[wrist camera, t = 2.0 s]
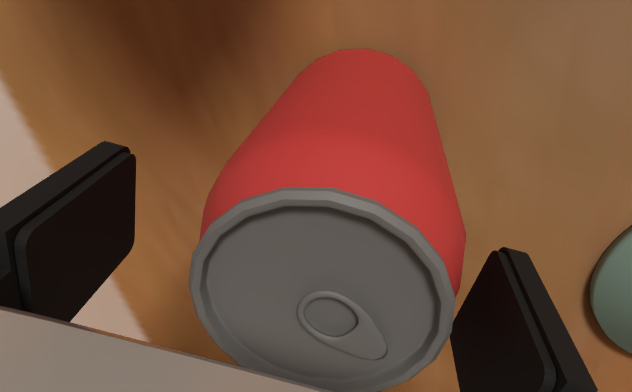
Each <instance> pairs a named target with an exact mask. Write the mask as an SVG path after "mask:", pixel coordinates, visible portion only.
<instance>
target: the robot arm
mask: <svg viewBox="0 0 632 392" xmlns="http://www.w3.org/2000/svg"><path fill="white" fill-rule="evenodd" d="M135 186H136V157H135V155H134V154H130V150H129V148H128V147H125V146H122V145H118V144H114V143H110V142H106V141H104V142H101V143H100V144H98V145H97V146H95V147H93V148H92V149H90V150H89V151H87V152H86V153H84V154H83V155H81V156H80V157H78V158H77V159H75V160H73V161H72V162H70V163H69V164H67V165H66V166H64V167H63V168H61V169H60V170H58V171H56V172H55V173H53V174H52V175H50V176H49V177H47V178H46V179H44V180H43V181H41V182H40V183H38V184H36V185H35V186H33V187H32V188H30V189H29V190H27V191H26V192H24V193H23V194H21V195H20V196H18V197H16V198H15V199H13V200H12V201H10V202H9V203H7V204H6V205H4V206H2V207H1V208H0V392H333V391H329V390H326V389H322V388H318V387H315V386H311V385H307V384H303V383H300V382H296V381H292V380H288V379H285V378H281V377H277V376H273V375H270V374H266V373H262V372H258V371H254V370H251V369H247V368H243V367H239V366H236V365H232V364H228V363H224V362H220V361H217V360H213V359H209V358H205V357H202V356H198V355H194V354H190V353H186V352H182V351H179V350H175V349H171V348H167V347H163V346H159V345H155V344H152V343H148V342H144V341H140V340H136V339H132V338H129V337H124V336H121V335H117V334H113V333H109V332H105V331H102V330H98V329H94V328H90V327H86V326H82V325H78V324H74V323H70V321H71V320H72V319H73V317H74V316H75V315H76V314H77V313H78V312H79V310H80V309H81V308H82V307H83V306H84V305H85V304H86V302H87V301H88V300H89V299H90V298H91V297H92V295H93V294H94V293H95V292H96V291H97V290H98V288H99V287H100V286H101V285H102V284H103V283H104V282H105V280H106V279H107V278H108V277H109V276H110V275H111V273H112V272H113V271H114V270H115V269H116V268H117V266H118V265H119V264H120V263H121V262H122V261H123V259H124V258H125V257H126V256H127V255H128V254H129V252H130V251H131V249H132V247H133V244H134V236H135ZM450 341H451V346H452V351H453V356H454V362H455V367H456V372H457V377H458V382H459V388H460V392H597V391H598V389H597V387H596V386H595V384H594V382H593V380H592V378H591V376H590V374H589V372H588V370H587V368H586V366H585V364H584V362H583V360H582V358H581V356H580V354H579V352H578V351H577V349H576V347H575V345H574V343H573V341H572V339H571V337H570V335H569V333H568V331H567V329H566V327H565V325H564V323H563V321H562V319H561V317H560V315H559V314H558V312H557V310H556V308H555V306H554V304H553V302H552V300H551V298H550V296H549V294H548V292H547V290H546V288H545V286H544V284H543V282H542V280H541V279H540V277H539V275H538V273H537V271H536V269H535V267H534V265H533V263H532V261H531V259H530V257H529V255H528V254H527V253H524V252H521V251H517V250H513V249H509V248H506V247H503V248H501V249H500V250H499V251H492V252H491V254H490V255H489V257H488V259H487V261H486V262H485V264H484V266H483V268H482V270H481V272H480V273H479V275H478V277H477V279H476V281H475V283H474V284H473V286H472V288H471V290H470V292H469V294H468V295H467V297H466V299H465V301H464V303H463V305H462V307H461V308H460V310H459V312H458V314H457V316H456V318H455V319H454V321H453V325H452V332H451V334H450Z"/></svg>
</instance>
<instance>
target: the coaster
mask: <svg viewBox="0 0 632 392" xmlns="http://www.w3.org/2000/svg"><path fill="white" fill-rule="evenodd" d="M589 297H590V305H591V308H592V311H593V314H594V316H595V317H596V319H597V321H598V323H599V324H600V326H601V328H602V330H603V331H604V332H605V334H606V335H607V336H608V337H609V338H610V339H611V340H612V341H613V342H614V343H615V344H617V345H618V346H619V347H621V348H622V349H624V350H626V351H627V352H629V353H631V354H632V226H631V227H629V228H628V229H627V230H625V231H624V232H623V233H622V234H621V235H620V236H619V237H618V238H617V239H616V240H614V241H613V242H612V244H611V245H610V246H609V247H608V248H607V250H606V251H605V252H604V253H603V255H602V257H601V258H600V260H599V261H598V263H597V265H596V267H595V270H594V272H593V274H592V278H591V282H590V290H589Z"/></svg>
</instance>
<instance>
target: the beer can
mask: <svg viewBox="0 0 632 392" xmlns="http://www.w3.org/2000/svg"><path fill="white" fill-rule="evenodd" d="M465 241H466V232H465V228H464V224H463V220H462V217H461V213H460V209H459V206H458V202H457V198H456V195H455V191H454V187H453V183H452V180H451V176H450V172H449V169H448V165H447V161H446V157H445V154H444V150H443V146H442V143H441V139H440V135H439V132H438V128H437V124H436V120H435V117H434V113H433V109H432V106H431V102H430V99H429V95H428V92H427V90H426V88H425V87H424V86H423V84H422V83H421V81H420V80H419V79H418V77H417V76H416V74H415V73H414V71H413V70H411V69H410V68H409V67H407V66H406V65H404V64H403V63H401V62H400V61H399V60H397V59H396V58H394V57H393V56H391V55H388V54H384V53H381V52H377V51H374V50H371V49H343V50H339V51H336V52H334V53H331V54H329V55H326V56H323V57H321V58H318V59H317V60H316V61H314V62H313V63H312V64H311V65H310V66H308V67H307V68H306V69H305V70H304V71H302V72H301V73H300V74H299V75H298V76H297V77H296V79H295V80H294V81H293V82H292V84H291V85H290V86H289V87H288V88H287V90H286V91H285V92H284V93H283V95H282V96H281V97H280V98H279V99H278V101H277V102H276V103H275V104H274V105H273V107H272V108H271V109H270V110H269V112H268V113H267V114H266V115H265V116H264V118H263V119H262V120H261V121H260V123H259V124H258V125H257V126H256V127H255V129H254V130H253V131H252V132H251V134H250V135H249V136H248V137H247V138H246V140H245V141H244V142H243V143H242V145H241V146H240V147H239V148H238V149H237V151H236V152H235V153H234V154H233V156H232V157H231V158H230V159H229V160H228V162H227V163H226V165H225V166H224V168H223V170H222V172H221V173H220V175H219V177H218V178H217V180H216V182H215V184H214V185H213V187H212V189H211V191H210V192H209V195H208V198H207V201H206V204H205V208H204V211H203V219H202V226H201V233H200V241H199V244H198V246H197V247H196V249H195V250H194V252H193V254H192V262H191V270H190V277H189V288H190V292H191V296H192V300H193V303H194V307H195V311H196V315H197V317H198V318H199V320H200V321H201V323H202V324H203V326H204V327H205V329H206V330H207V332H208V333H209V335H210V336H211V338H212V340H213V341H214V343H215V344H216V345H217V346H218V347H219V348H220V349H222V350H223V351H224V352H225V353H226V354H227V355H228V356H229V357H231V358H232V359H233V360H234V361H235V362H236V363H237V364H238V365H240V366H241V367H243V368H247V369H251V370H254V371H258V372H262V373H266V374H270V375H273V376H277V377H281V378H285V379H288V380H292V381H296V382H300V383H303V384H307V385H311V386H315V387H318V388H322V389H326V390H329V391H333V392H380V391H382V390H385V389H388V388H390V387H393V386H395V385H398V384H400V383H403V382H406V381H408V380H410V379H411V378H413V377H414V376H415V375H416V374H418V373H419V372H420V371H421V370H423V369H424V368H425V367H427V366H428V365H429V364H430V363H432V362H433V361H434V360H435V359H436V358H437V356H438V354H439V353H440V351H441V349H442V347H443V346H444V344H445V342H446V341H447V339H448V337H449V336H450V334H451V332H452V325H453V316H454V307H455V298H456V295H457V293H458V291H459V288H460V282H461V274H462V266H463V258H464V249H465Z"/></svg>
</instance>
